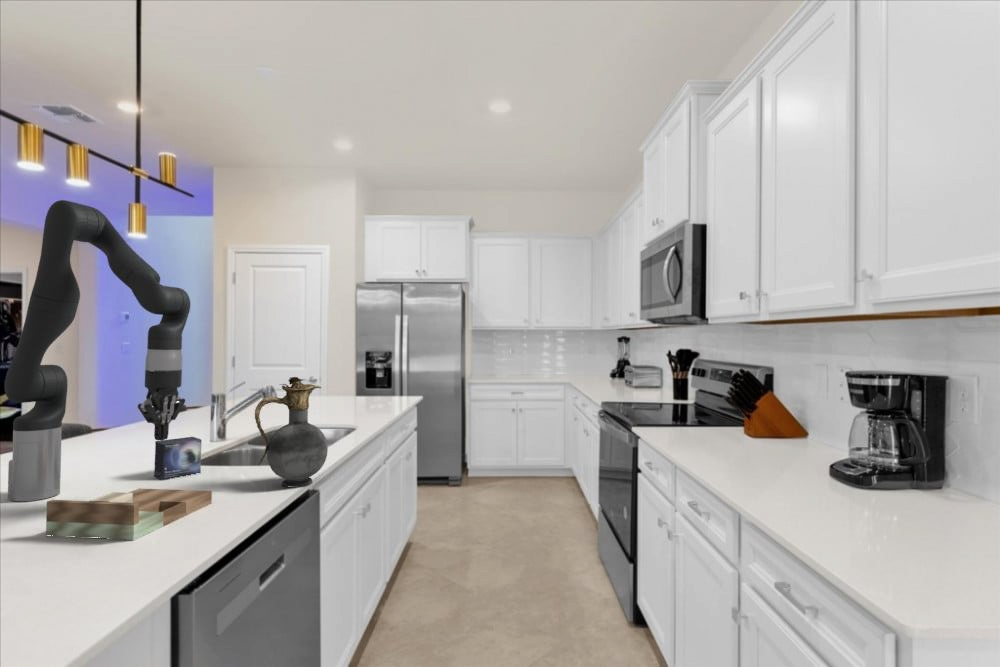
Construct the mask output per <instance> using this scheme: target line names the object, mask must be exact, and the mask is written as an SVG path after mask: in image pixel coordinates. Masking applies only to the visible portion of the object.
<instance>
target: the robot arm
mask: <svg viewBox="0 0 1000 667" xmlns="http://www.w3.org/2000/svg"><path fill="white" fill-rule="evenodd" d="M43 226H44V227H43V233H42V234H43V235H42V242H41V250H40V251H41V252H40V257H39V263H38V267H37V272H36V276H35V281H34V283H33V286H32V289H31V293H30V297H29V302H28V306H27V310H26V314H25V315H26V316H25V319H24V324H23V328H22V331H21V333H20V337H19V340H18V344H17V346H16V349H15V351H14V355H13V357H12V359H11V362H10V364H9V367H8V369H7V372H6V376H5V379H4V392H5V395H6V398H8V400H9V401H11V402H12V403H15V404H16V403H17V404H24V403H34V402H35V404H34V406H32V408H31V409H30V410H29V411H27V412H26V413H24V414H22V415H20V416H17V417H16V418H14V420H13V424H12V458H11V459H10V460H8V474H7V477H8V478H7V499H8V500H11V501H12V502H32V501H39V500H44V499H48V498H52V497H55V496H58V495H59V494H60V493H61V477H62V476H61V474H62V473H61V472H62V471H61V470H62V428H63V427H62V424H63V419H64V417H65V414H66V410H67V409H66V408H67V396H68V387H69V386H68V377H67V373H66V371H65V370H64V368H63V367H61V366H60V365H56V364H42V361H43V358H44V356H45V355H46V352H47V350H48V349H49V347H50V346H52V344H53V343H54V342H55V341H56V340H57V339H58V338H59V337H60V336H61V335H62V334H63V333H64V332H65V331H66V330H67V329H69V327H70V326H71V324H72V323H73V322H74V320H75V317H76V315H77V312H78V311H77V310H78V307H79V303H80V300H81V290H80V287H79V284H78V281H77V278H76V277H75V274H74V271H73V268H72V264H71V254H72V248H73V244H74V241H76V242H79V243H80V242H81V243H88V244H90V245H92V246H94V247H95V248H97V249H98V250H100V251H101V252H102V253H103V254H104V255H105V256H106V258H107V262H108V266H109V269H110V270H111V272H112V273H113V274H114V275H115V276H116V277H117V278H118V279H119V280H120V281H121V282H122V283H123V284H124V285H125V286H127V287H128V288H129V289H130V290H131V291H132V294H133V295H134V298H136V300H137V302H138V304H139V305H140V306H141V307H142V308H143V309H144V310H145V311H147V312H148V313H150V314H153V315H162V316H161V319H160V322H159V323H158V324H155V325H152V326H150V327H149V328H148V332H147V345H146V346H147V347H146V357H145V364H144V365H145V366H144V369H145V370H144V387H145V388H146V389H147V394H146V400H144V401H143V403H138V404H137V409H138V410H139V412H140V414H141V415H142V416H143V418H144V420H145V421H146V422H147V423H148V424H153V425H154V430H153V431H154V434H153V435H154V436H153V437H154V440H155V441H161V440H168V438H169V428H170V426H169V425H170V424H171V422H172V421H175V420H176V419H177V418H178V415H179V414H180V411H182V409H183V406H184V404H185V403H186V399H185V398H181V397H180V396H179V390H178V388H181V387H182V381H183V380H182V377H183V354H182V353H183V351H182V350H183V349H182V345H183V332H184V329H185V327H186V324H187V320H188V317H189V314H190V312H191V299H190V296H189V293H187V291H185V289H182V288H180V287H175V286H170V285H169V286H168V285H162V284H161V283H160V282H161V276H160V274H159V273H158V272H157V270H155V268H154V267H152V266H151V265H150V264H149V263H148V262H147V261H146V260H145V259H144V258H142V257H141V256H140V255H139V254H138V253H137V252H136V251H135V250H133V248H132V247H131V246H130V245H129V244H128V243H127V242H126V240H125V239H124V238H123V237H122V236H121V234H120V233H119V232H118V230H117V229H116V227H114V225H113V224H112V223H111V221H110V220H109V219H108V218H107V217H106V215H105V214H104V213H103V212H102V211H100V210H99V209H98V208H95V207H92V206H90V205H87V204H86V205H85V204H82V203H77V202H75V201H74V202H73V201H69V200H64V199H59V200H57V201H55V202H53V203H52V204H51V205H50V206H49V207H48V210H47V213H46V214H45V219H44V225H43Z"/></svg>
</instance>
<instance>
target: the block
mask: <svg viewBox="0 0 1000 667" xmlns="http://www.w3.org/2000/svg"><path fill="white" fill-rule="evenodd" d="M88 501H97V502H123V503H133V493H128V492H120V491H119V492H118V491H117V492H116V491H115V492H114V491H113V492H109V493H106V494H105V495H102V496H98V497H94V498H92V499H89V500H88Z"/></svg>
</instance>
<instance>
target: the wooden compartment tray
mask: <svg viewBox="0 0 1000 667" xmlns="http://www.w3.org/2000/svg"><path fill="white" fill-rule="evenodd" d="M127 493H133V503H123V502H97V501H89V500H69V499H51V500H47V501H46V519H45V520H46V521H45V522H46V523H45V526H46V527H45V536H46V535H51V536H52V535H53V536H75V537H98V538H99V537H100V538H109V539H108V540H113V539H126V540H125V541H135V540H137V538H138V539H139V538H142V537H144V536H145V534H146V535H148V534H150V533H152V532H154V531H156V530H158V529H161V528H162V527H165V526H167V525H169V524H171V523H174V522H176V521H177V520H179V519H182V518H184V517H186V516H188V515H190V514H192V513H194V512H197V511H199V510H201V509H203V508H205V507H208V506H209V505H211V504H212V500H213V498H212V497H213V495H212V494H213V492H212V490H197V489H196V490H195V489H193V490H190V489H189V490H188V489H164V488H163V489H162V488H142V487H141V488H137V489H135V490H134V489H133V490H132V491H128V492H127ZM149 532H150V533H149ZM147 533H148V534H147ZM143 535H144V536H143ZM141 536H142V537H141Z"/></svg>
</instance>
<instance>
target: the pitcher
mask: <svg viewBox="0 0 1000 667" xmlns="http://www.w3.org/2000/svg"><path fill="white" fill-rule="evenodd" d="M303 381H305V380H304V379H303V378H302V379H301V378H300V377H298V376H292V377H289V379H288V382H289V385H290V386H289V385H288V384H286V383H282V384H281V383H280V384H279V386H281V388H282V390H283V391H285V394H286V395H284V396H283V397H282V398H281V397H274V396H268V397H264V398H262V399H261V400H260V401H259V402H258V403H257V405H256V407H255V409H254V419H255V424H256V426H257V427H256V428H257V429H258V431H259V432H260V435H261V436H262V439H263V441H264V444H265V449H264V453H263V455H262V457H261V458H260V460H259V462H258V464H257V465H258V467H259V466H260V464H261V463H262V462H263V460H264V458H265V457H266V456H267V457H266V459H267V463H268V465H269V468H270V469H271V471H272V472H273V473H274V474H275V475H277V476H278V477H279V478H281V479H284V480H283V481H281V485H282V486H283V485H284V486H302V487H306V486H309V485H311V484H312V483H313V479H312V478H311V477H312V476H314V475H315V474H317V473H318V472H319V471H320V470H321V469H322V468H323V466H324V464H325V463H326V460H327V457H328V450H329V448H328V443H327V442H328V441H327V439H326V436H325V434H324V433H323V431H322V430H321V429H320V428H319V427H317V426H316V425H314V424H312V423H309V420H308V418H309V413H308V412H309V410H308V409H310V402H309V401H310V400H309V398H310V395H311V394H312V392H313V390H315V389H322V386H320V385H315V384H309V383H308V384H307V383H306V384H305V383H303ZM273 403H274V404H275V403H276V404H279V405H284V406H286V407H287V409H288V423H287V424H286V425H284V426H282V427H280V428H278V429H277V430H276V431H275V432H274V433H273V434H272V436H271V437H270V439H269V441H268V437H267V435H266V433H265V431H264V430H263V428H262V424H261V419H260V412H261V411H262V408H263V407H264V406H265V405H268V404H273ZM284 486H283V487H284Z"/></svg>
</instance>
